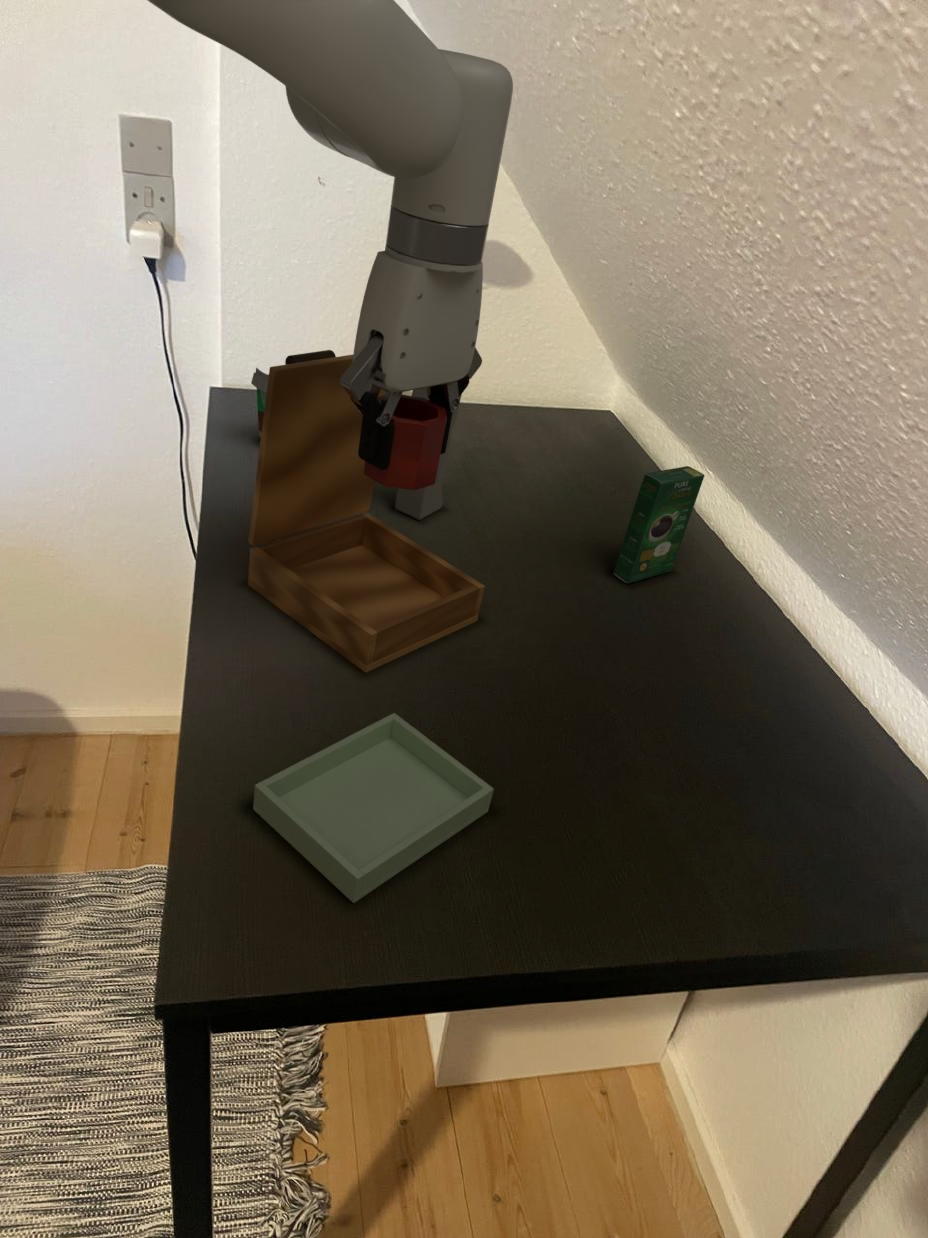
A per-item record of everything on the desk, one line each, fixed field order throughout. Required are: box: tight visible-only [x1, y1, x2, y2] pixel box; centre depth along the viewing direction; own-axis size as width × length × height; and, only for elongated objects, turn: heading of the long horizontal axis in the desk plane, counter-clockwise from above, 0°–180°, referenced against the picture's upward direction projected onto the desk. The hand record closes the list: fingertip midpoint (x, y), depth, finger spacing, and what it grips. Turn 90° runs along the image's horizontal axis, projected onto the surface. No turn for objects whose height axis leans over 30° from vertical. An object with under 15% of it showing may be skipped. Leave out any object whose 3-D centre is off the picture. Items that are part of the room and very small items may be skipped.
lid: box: [247, 349, 387, 547], centre depth 93 cm, size 18×16×5 cm
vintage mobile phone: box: [394, 388, 463, 521], centre depth 109 cm, size 4×5×25 cm
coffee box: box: [612, 465, 705, 584], centre depth 109 cm, size 8×3×13 cm, turn 127°
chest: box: [247, 512, 486, 674], centre depth 95 cm, size 18×16×4 cm
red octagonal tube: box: [364, 394, 446, 490], centre depth 81 cm, size 6×6×6 cm
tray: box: [252, 712, 495, 904], centre depth 71 cm, size 14×11×2 cm
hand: (402, 453), depth 82 cm, fingers closed on red octagonal tube, 6 cm apart
